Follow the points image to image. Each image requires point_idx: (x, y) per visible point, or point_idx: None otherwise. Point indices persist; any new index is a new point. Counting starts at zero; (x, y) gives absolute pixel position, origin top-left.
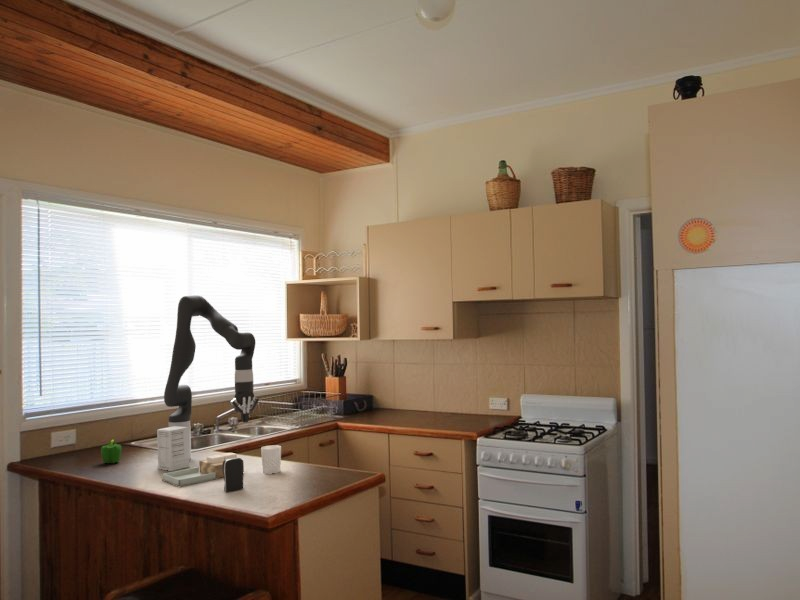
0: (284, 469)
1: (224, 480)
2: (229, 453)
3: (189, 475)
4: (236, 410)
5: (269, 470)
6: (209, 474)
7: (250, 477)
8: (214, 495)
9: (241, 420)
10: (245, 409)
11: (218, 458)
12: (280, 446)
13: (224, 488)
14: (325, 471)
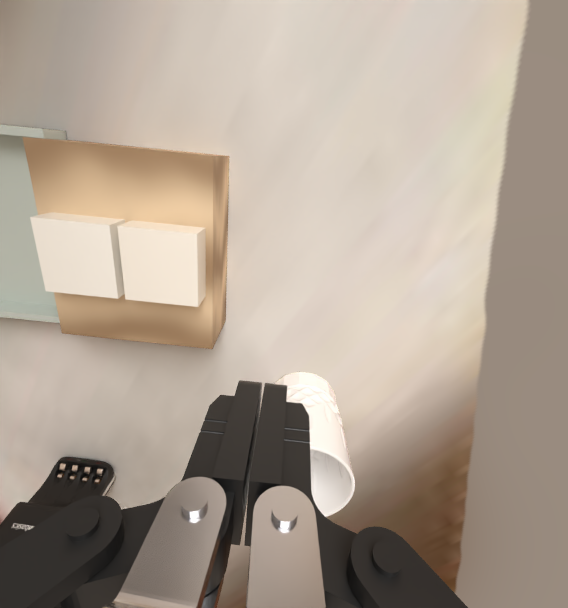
0: (360, 404)
1: (35, 494)
2: (176, 255)
3: (2, 175)
4: (38, 551)
5: None
6: (50, 320)
7: (204, 395)
8: (25, 464)
9: (215, 402)
10: (275, 569)
11: (85, 293)
12: (341, 505)
13: (53, 469)
14: (407, 517)
